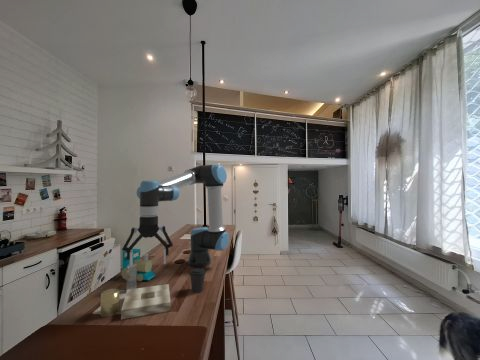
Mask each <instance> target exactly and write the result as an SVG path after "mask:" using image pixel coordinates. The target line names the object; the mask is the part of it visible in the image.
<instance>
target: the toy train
mask: <svg viewBox="0 0 480 360" xmlns="http://www.w3.org/2000/svg"><path fill="white" fill-rule="evenodd" d="M131 250H133V254H132V264H137V282H142V281H150V280H151V279H153V278H154V277H156V274H155V273H154V271H153V269H152V268H153V261H152V260H150V259H149V253H144V254H143V259H142V258H141V248H132V249H131ZM125 254H127V252H126V251H123V250H122V262H121V263H122V265H121V266H122V267H121V269H122V270H121V278H123V280H125V281H127V266H128V265H130V259H127V255H126V256H125ZM136 254H138V255H136ZM134 255H136V256H134Z"/></svg>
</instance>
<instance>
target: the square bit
mask: <svg viewBox="0 0 480 360" xmlns="http://www.w3.org/2000/svg"><path fill="white" fill-rule="evenodd" d="M137 282H138V280H137V264H132V268H130V265H128V266H127V280H126V289H125V290H126V293H127V290H129V289H136V288H137ZM126 293H125V294H126Z"/></svg>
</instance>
